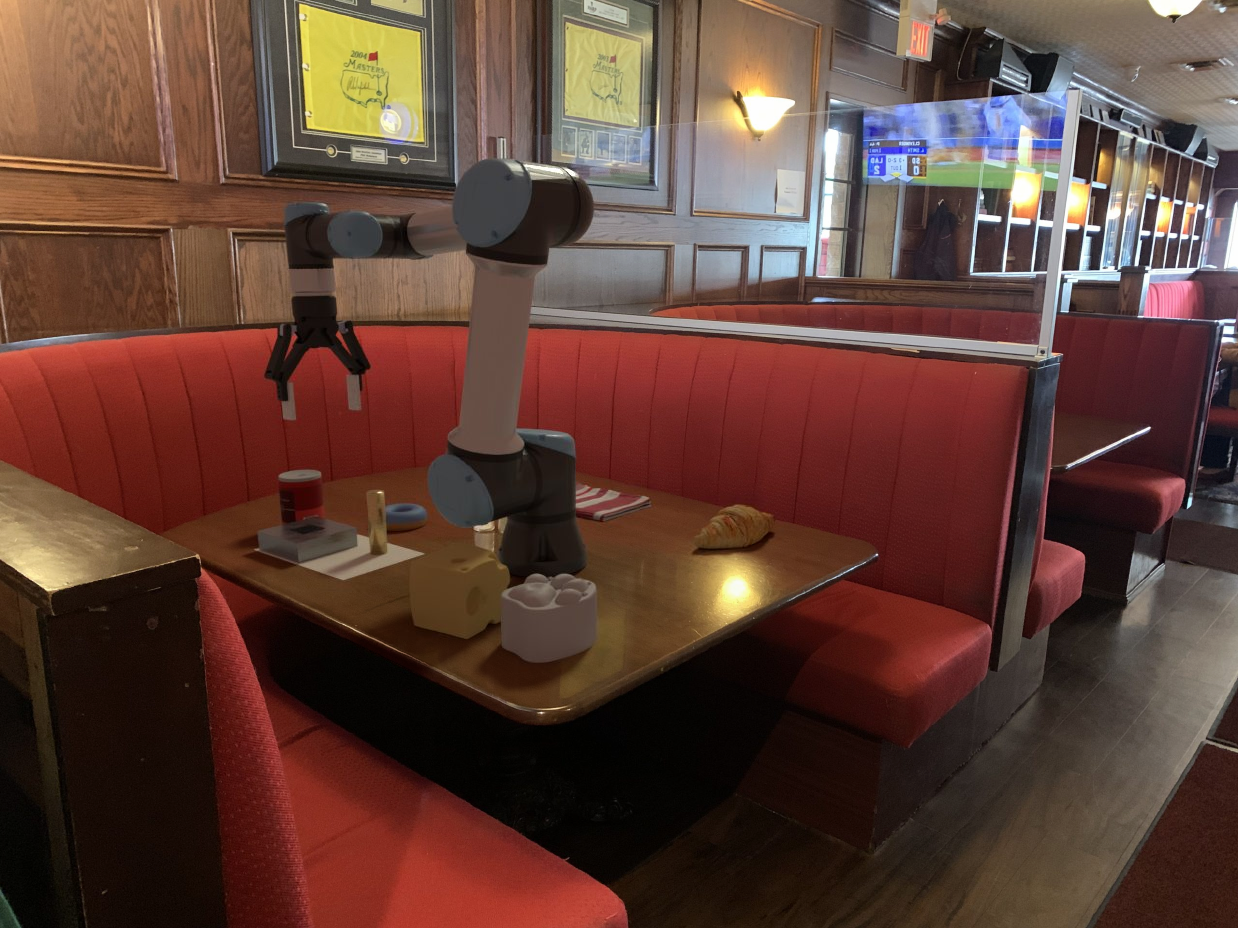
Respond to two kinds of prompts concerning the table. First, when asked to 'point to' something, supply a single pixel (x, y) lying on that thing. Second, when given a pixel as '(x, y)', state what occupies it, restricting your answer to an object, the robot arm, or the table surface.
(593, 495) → the dish towel
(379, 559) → the mat
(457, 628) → the cheese
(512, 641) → the lumpy-topped squat cylinder
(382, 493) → the pin
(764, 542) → the table surface
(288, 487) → the canned food
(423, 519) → the doughnut
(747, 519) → the croissant
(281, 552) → the square hole block
